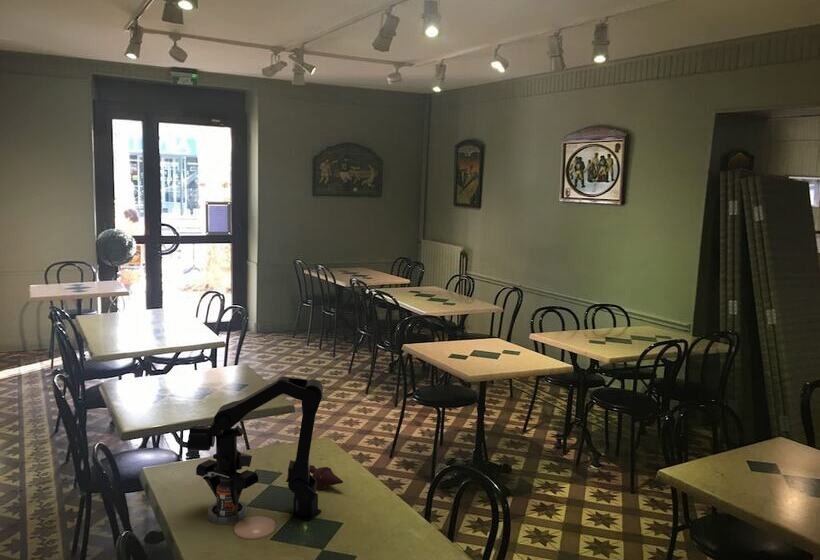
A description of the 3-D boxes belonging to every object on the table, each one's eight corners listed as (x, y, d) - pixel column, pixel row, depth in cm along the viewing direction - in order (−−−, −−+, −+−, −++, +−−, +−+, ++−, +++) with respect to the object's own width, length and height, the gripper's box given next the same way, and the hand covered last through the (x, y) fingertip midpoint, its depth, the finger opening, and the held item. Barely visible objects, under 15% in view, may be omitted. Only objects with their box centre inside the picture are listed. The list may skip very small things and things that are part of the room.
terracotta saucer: (283, 525, 184) (283, 522, 184) (256, 543, 175) (256, 540, 175) (253, 515, 190) (253, 512, 189) (225, 532, 180) (225, 529, 180)
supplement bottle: (225, 522, 185) (224, 484, 184) (212, 515, 189) (211, 478, 187) (242, 514, 190) (242, 477, 188) (229, 508, 194) (228, 471, 192)
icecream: (351, 469, 207) (315, 461, 216) (336, 471, 201) (300, 463, 209) (349, 492, 206) (313, 483, 215) (334, 494, 200) (297, 486, 209)
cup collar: (253, 511, 192) (253, 505, 191) (228, 527, 182) (228, 520, 182) (226, 503, 196) (226, 496, 196) (200, 518, 187) (200, 511, 187)
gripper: (270, 447, 190) (271, 498, 192) (222, 434, 198) (222, 483, 200) (244, 460, 180) (244, 514, 182) (194, 446, 188) (195, 498, 190)
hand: (227, 501), depth 189 cm, fingers closed on supplement bottle, 6 cm apart
